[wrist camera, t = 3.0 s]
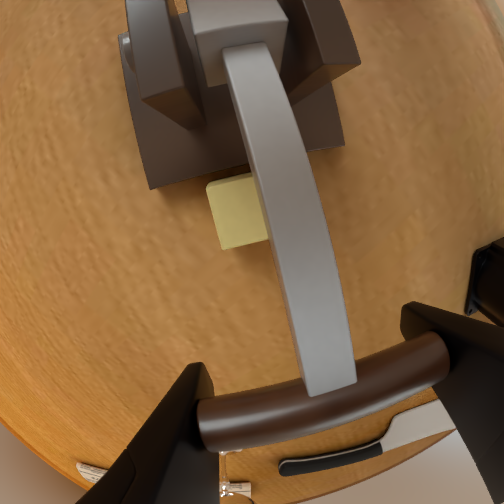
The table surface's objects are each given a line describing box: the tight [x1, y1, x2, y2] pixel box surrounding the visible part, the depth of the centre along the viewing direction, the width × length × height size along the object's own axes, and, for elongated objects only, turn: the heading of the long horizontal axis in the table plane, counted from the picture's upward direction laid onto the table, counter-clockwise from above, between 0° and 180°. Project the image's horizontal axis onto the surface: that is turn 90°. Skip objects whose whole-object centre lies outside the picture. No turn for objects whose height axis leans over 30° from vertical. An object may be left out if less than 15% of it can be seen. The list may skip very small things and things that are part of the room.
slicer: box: [118, 0, 361, 190], centre depth 8 cm, size 9×10×9 cm
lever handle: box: [186, 0, 450, 453], centre depth 6 cm, size 12×6×2 cm, turn 12°
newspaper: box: [76, 462, 251, 497], centre depth 25 cm, size 24×7×2 cm, turn 88°
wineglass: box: [219, 449, 256, 504], centre depth 16 cm, size 6×6×12 cm
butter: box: [206, 172, 268, 250], centre depth 13 cm, size 3×4×2 cm
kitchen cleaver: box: [278, 399, 456, 476], centre depth 25 cm, size 31×2×10 cm
